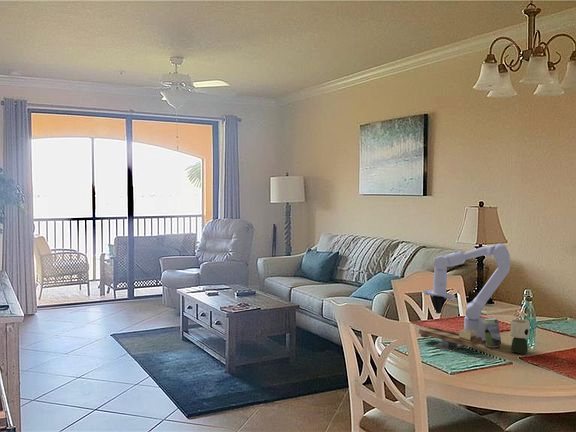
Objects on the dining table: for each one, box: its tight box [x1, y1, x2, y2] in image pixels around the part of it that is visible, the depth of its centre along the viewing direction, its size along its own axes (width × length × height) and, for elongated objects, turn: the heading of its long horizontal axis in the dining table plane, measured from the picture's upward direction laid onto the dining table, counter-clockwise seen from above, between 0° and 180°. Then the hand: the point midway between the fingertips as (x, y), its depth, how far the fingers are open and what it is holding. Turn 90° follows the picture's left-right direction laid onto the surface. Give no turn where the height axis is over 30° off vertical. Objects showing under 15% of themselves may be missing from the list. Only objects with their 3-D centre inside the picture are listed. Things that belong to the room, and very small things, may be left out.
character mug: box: [510, 318, 531, 355], centre depth 226 cm, size 11×7×13 cm, turn 147°
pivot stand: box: [432, 340, 466, 352], centre depth 235 cm, size 8×13×3 cm, turn 132°
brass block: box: [458, 328, 477, 341], centre depth 228 cm, size 5×5×4 cm
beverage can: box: [483, 317, 502, 348], centre depth 235 cm, size 6×7×12 cm
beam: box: [418, 326, 484, 348], centre depth 235 cm, size 25×9×4 cm, turn 42°
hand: (438, 313), depth 250 cm, fingers closed
